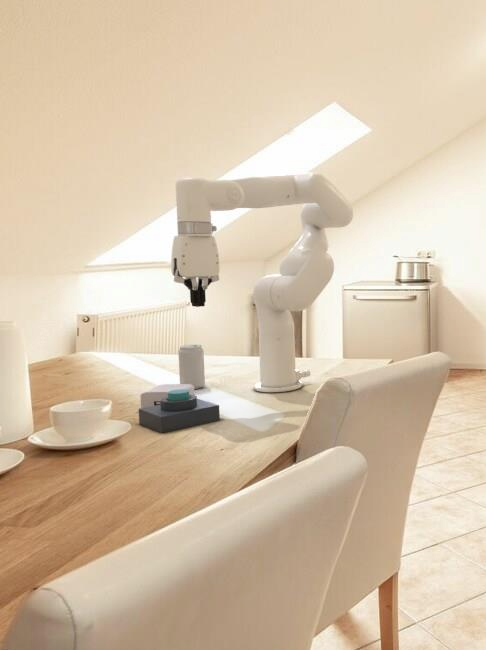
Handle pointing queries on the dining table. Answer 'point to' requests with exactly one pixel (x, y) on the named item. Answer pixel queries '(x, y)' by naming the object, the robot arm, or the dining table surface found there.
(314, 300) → the robot arm
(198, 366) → the beverage can
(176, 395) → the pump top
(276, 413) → the dining table surface
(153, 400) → the hinged button cover
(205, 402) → the teal push button box
